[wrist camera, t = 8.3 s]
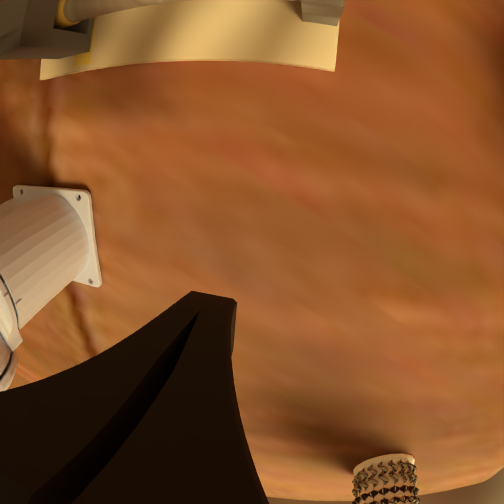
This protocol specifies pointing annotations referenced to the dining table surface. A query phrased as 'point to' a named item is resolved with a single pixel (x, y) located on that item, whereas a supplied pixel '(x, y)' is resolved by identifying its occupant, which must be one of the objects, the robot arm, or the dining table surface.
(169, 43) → the pipe stand
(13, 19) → the grey notched block
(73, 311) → the dining table surface
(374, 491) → the decorative candle
